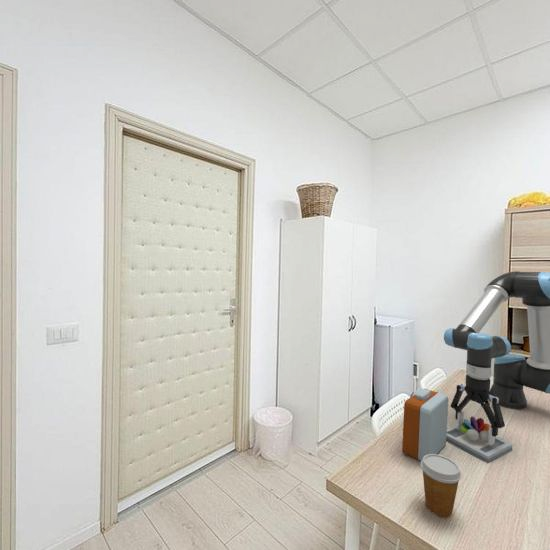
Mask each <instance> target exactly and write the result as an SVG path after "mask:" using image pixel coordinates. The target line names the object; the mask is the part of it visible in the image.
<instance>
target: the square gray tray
mask: <svg viewBox="0 0 550 550" xmlns="http://www.w3.org/2000/svg"><path fill="white" fill-rule="evenodd" d="M447 442H448V443H449V444H451V445H453V446H455V447H456V448H459V449H461V450H462V451H464V452H465V453H468V454H470V455H472V456H474V457H475V458H477V459H480V460H481V461H483V462H485V463H487V464H489V463H490V462H492V461H494V460H496V459H498V458H500V457H502V456H504V455H506V454H508V453H509V452H512V451H513V443H511V442H509V441H507V440H505V439H502V438H500V437H497V436H496V437H495V444H492V445H488V442H483V441H482V440H480V438H478V440H475V441H473V440H470V439H469V438H468V437H467V435H466V433H464V432H463V431H462V430H457V424H456V425H453V426H449V427H447V436H446V443H447Z"/></svg>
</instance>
